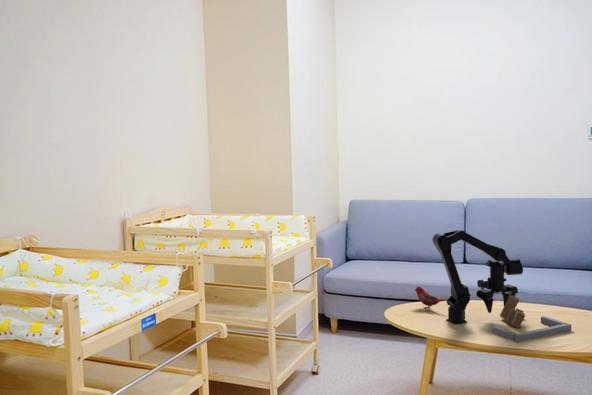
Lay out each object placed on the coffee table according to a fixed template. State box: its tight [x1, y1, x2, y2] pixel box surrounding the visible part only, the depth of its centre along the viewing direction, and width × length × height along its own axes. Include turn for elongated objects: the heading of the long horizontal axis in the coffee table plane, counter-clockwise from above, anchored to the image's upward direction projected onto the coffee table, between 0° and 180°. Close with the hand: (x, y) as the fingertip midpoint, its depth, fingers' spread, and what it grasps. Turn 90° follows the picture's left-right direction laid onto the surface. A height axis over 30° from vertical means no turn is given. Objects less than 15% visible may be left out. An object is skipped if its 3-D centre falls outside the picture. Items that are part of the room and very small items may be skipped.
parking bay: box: [491, 315, 572, 344], centre depth 207 cm, size 29×13×2 cm, turn 113°
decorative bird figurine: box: [414, 286, 448, 310], centre depth 242 cm, size 3×18×10 cm, turn 43°
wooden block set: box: [499, 295, 526, 329], centre depth 220 cm, size 18×9×10 cm, turn 161°
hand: (497, 311), depth 224 cm, fingers open, 9 cm apart
